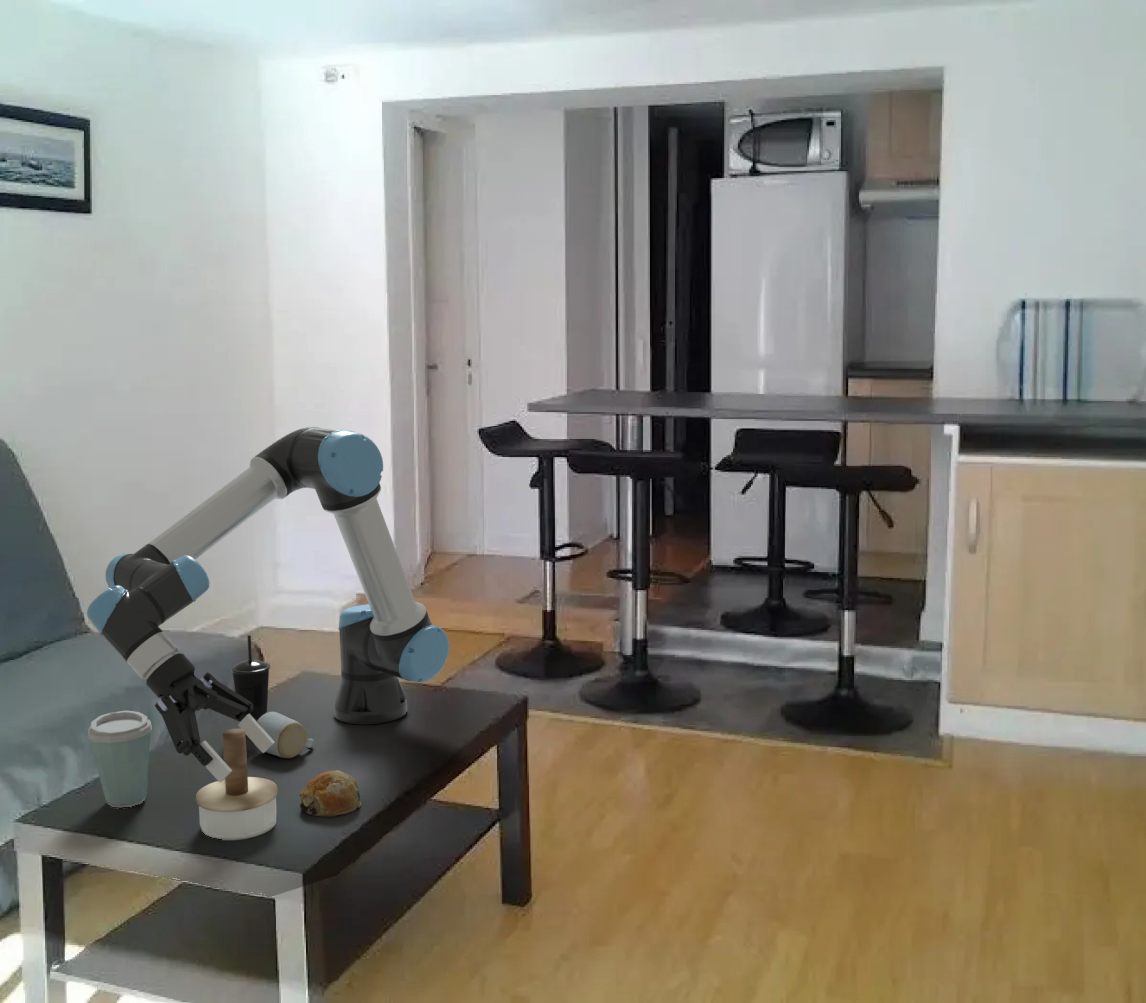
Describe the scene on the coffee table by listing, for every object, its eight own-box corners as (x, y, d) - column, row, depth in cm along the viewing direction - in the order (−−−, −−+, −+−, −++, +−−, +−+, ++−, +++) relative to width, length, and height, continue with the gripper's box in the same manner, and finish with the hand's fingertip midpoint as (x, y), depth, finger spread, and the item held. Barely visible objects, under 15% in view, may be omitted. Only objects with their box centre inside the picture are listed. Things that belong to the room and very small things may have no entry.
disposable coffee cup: (164, 805, 218) (159, 722, 216) (99, 819, 213) (93, 733, 210) (148, 786, 227) (143, 705, 225) (85, 798, 222) (80, 716, 219)
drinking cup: (279, 727, 258) (275, 631, 255) (264, 739, 251) (259, 641, 248) (244, 725, 260) (239, 630, 256) (227, 737, 252) (222, 640, 249)
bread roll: (354, 836, 214) (373, 793, 214) (297, 818, 211) (316, 774, 211) (347, 813, 224) (365, 772, 224) (292, 796, 220) (311, 754, 220)
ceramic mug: (279, 764, 237) (278, 725, 236) (252, 755, 242) (251, 716, 241) (323, 749, 246) (322, 711, 245) (296, 741, 251) (295, 703, 250)
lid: (256, 775, 218) (253, 714, 217) (291, 797, 209) (288, 733, 207) (183, 794, 210) (179, 730, 209) (216, 818, 200) (212, 752, 199)
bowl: (256, 804, 218) (255, 777, 218) (288, 826, 209) (287, 798, 208) (189, 823, 211) (187, 794, 210) (219, 846, 202) (218, 817, 201)
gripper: (191, 660, 222) (272, 749, 221) (102, 703, 199) (192, 804, 197) (216, 632, 220) (298, 723, 218) (129, 673, 196) (220, 775, 195)
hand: (248, 762), depth 208 cm, fingers open, 13 cm apart
